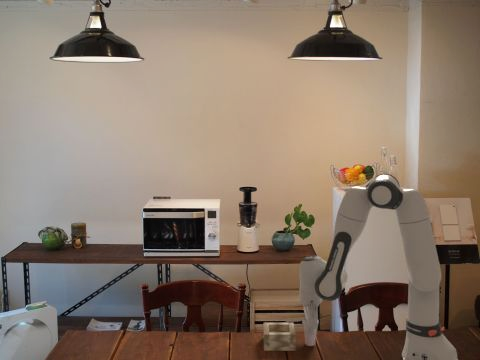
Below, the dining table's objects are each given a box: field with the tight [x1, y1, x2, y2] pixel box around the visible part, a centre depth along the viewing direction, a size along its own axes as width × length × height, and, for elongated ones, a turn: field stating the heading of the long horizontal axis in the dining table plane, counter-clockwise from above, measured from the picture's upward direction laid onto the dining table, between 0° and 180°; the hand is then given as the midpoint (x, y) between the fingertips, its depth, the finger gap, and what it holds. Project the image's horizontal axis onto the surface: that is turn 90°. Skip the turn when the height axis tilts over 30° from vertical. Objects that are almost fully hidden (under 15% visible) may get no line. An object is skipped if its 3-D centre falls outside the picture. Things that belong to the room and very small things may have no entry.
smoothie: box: [301, 317, 319, 347], centre depth 245 cm, size 6×6×14 cm
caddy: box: [262, 322, 296, 352], centre depth 246 cm, size 12×12×6 cm
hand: (310, 330), depth 245 cm, fingers closed on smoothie, 5 cm apart
